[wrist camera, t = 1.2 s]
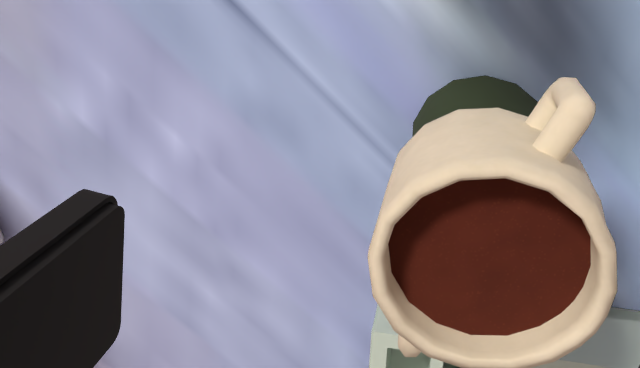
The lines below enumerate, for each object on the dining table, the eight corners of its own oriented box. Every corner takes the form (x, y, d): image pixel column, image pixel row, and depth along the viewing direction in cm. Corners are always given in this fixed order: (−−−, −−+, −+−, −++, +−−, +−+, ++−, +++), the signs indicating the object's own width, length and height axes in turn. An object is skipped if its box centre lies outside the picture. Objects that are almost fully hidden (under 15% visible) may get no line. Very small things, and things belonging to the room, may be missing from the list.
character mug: (482, 255, 32) (494, 448, 20) (361, 190, 32) (302, 346, 20) (615, 72, 27) (732, 185, 15) (472, -4, 27) (479, 51, 15)
